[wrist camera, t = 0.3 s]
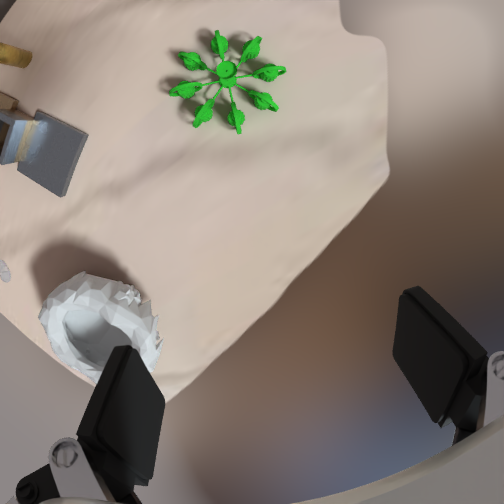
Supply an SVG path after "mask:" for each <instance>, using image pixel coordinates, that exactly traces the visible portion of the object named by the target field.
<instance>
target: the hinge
mask: <svg viewBox="0 0 504 504" xmlns="http://www.w3.org/2000/svg"><path fill="white" fill-rule="evenodd" d="M18 103H19V101H18V100H16V99H13V98H11V97H9V96H7V95H5V94H3V93H0V164H1V165H5V164H10V163H14V162H19V165H18V168H17V170H18V171H19V172H21V173H22V174H24V175H25V176H27V177H29V178H30V179H32V180H33V181H35V182H36V183H38V184H40V185H41V186H43V187H44V188H46V189H48V190H49V191H51V192H52V193H54V194H56V195H57V196H59V197H63V196H65V195H66V192H67V189H68V186H69V184H70V181H71V178H72V175H73V172H74V170H75V167H76V164H77V162H78V159H79V157H80V154H81V152H82V150H83V147H84V145H85V142H86V140H87V138H88V136H89V135H88V134H86V133H84V132H82V131H80V130H78V129H76V128H74V127H72V126H70V125H68V124H66V123H64V122H62V121H59V120H57V119H55V118H53V117H51V116H49V115H47V114H45V113H43V112H37V113H36V115H35V117H34V118H32V117H30V116H28V115H26V114H24V113H22V112H20V111H18V110H16V108H17V105H18Z"/></svg>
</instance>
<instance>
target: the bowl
mask: <svg viewBox="0 0 504 504" xmlns="http://www.w3.org/2000/svg"><path fill="white" fill-rule="evenodd" d="M141 301H142V298H141V299H140V293H139V292H138V290H136V289H135V288H134V285H131V286H130V285H128V284H123V282H121V281H118V282H117V281H114V280H110V279H106V278H102V277H98V276H94V275H90V274H86V271H83V272H81V273H79V274H77V275H75V276H73V277H72V278H71V279H70V280H68V281H65V282H63V283H61V284H60V285H59V286H58V287H57V288H56V289H55V290H53V291H52V292H51V293H50V294H49V295H48V298H47V299H46V300H45V301H44V302H43V306H42V309H41V311H40V314H39V316H38V318H39V320H40V321H41V324H42V326H43V327H44V329H45V332H46V334H47V337H48V339H49V340H50V343H51V347H52V349H53V351H54V353H55V354H56V355H57V356H58V358H59V359H60V360H61V361H62V362H64V363H66V364H67V365H69V366H70V367H71V368H73V369H75V370H78V371H80V372H81V373H83V374H85V375H86V376H87V377H89V378H90V379H91V380H92V381H93V382H94V383H96V384H97V382H98V380H99V378H100V376H101V374H102V371H103V369H104V367H105V365H106V363H107V361H108V359H109V356H110V354H111V352H112V350H113V348H114V347H115V346H122V345H131V346H132V347H133V348H135V349H137V351H138V353H139V354H140V356H141V358H142V360H143V362H144V364H145V365H146V367H147V369H148V371H149V373H150V372H152V371H153V370H154V368H155V365H156V362H157V360H158V357H159V355H160V351H161V347H162V343H163V340H164V338H163V339H162V340H161V341H160V342H159V343H158V344H157V345H156V341H157V340H159V339H160V338H159V333H158V331H157V330H156V329H157V321H158V318H159V315H157V316H156V317H155V318H154V317H153V316H152V311H151V300H149V301H147V302H145V303H144V304H142V305H141Z"/></svg>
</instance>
